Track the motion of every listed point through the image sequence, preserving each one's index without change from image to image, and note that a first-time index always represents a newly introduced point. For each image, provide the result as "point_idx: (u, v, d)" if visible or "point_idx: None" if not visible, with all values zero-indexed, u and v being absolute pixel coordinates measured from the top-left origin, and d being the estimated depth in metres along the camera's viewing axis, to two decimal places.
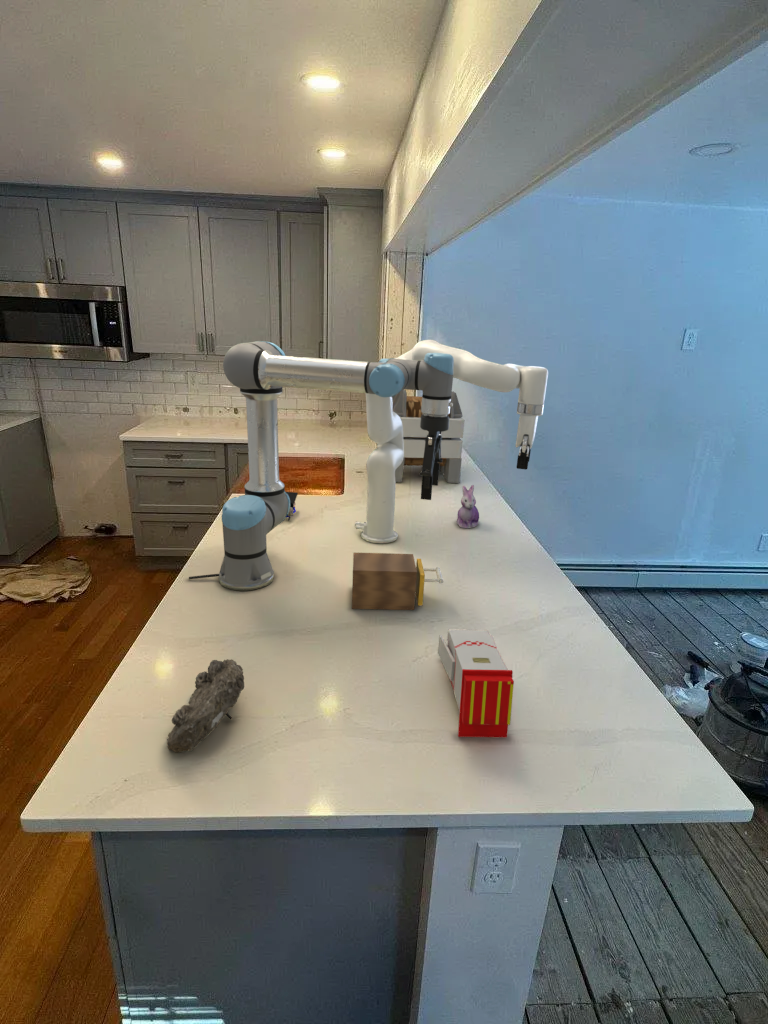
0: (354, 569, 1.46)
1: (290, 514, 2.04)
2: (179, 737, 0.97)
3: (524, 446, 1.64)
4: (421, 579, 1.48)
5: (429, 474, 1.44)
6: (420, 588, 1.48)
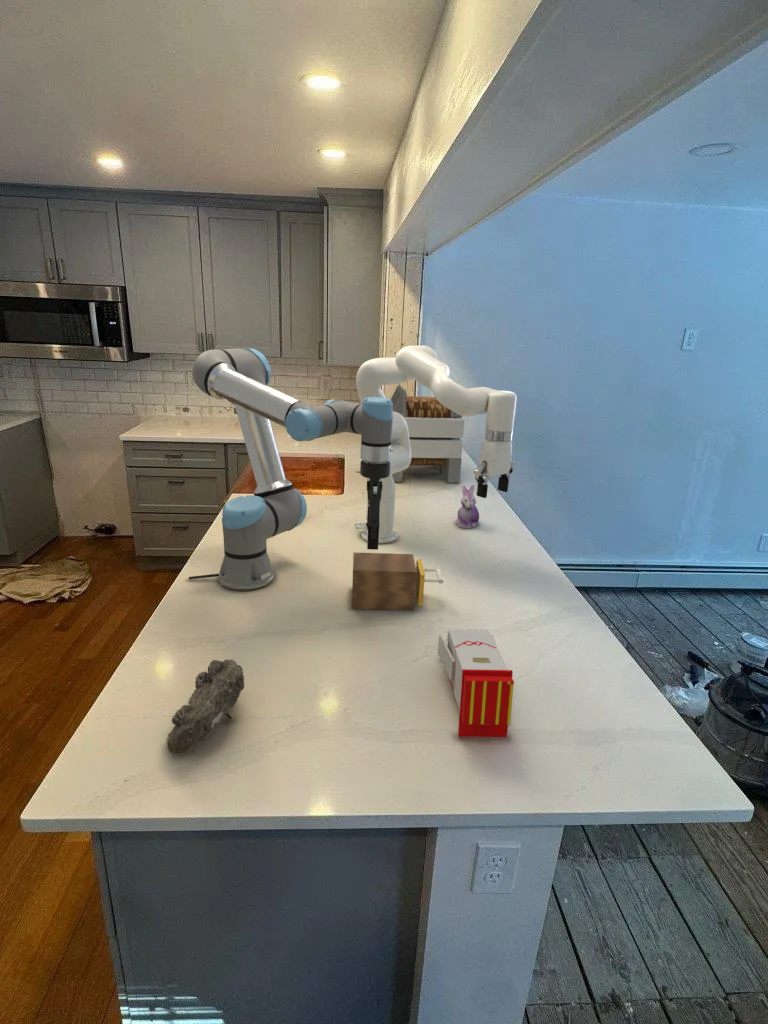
0: (354, 569, 1.46)
1: None
2: (179, 737, 0.97)
3: (476, 473, 1.57)
4: (421, 579, 1.48)
5: (377, 525, 1.37)
6: (420, 588, 1.48)
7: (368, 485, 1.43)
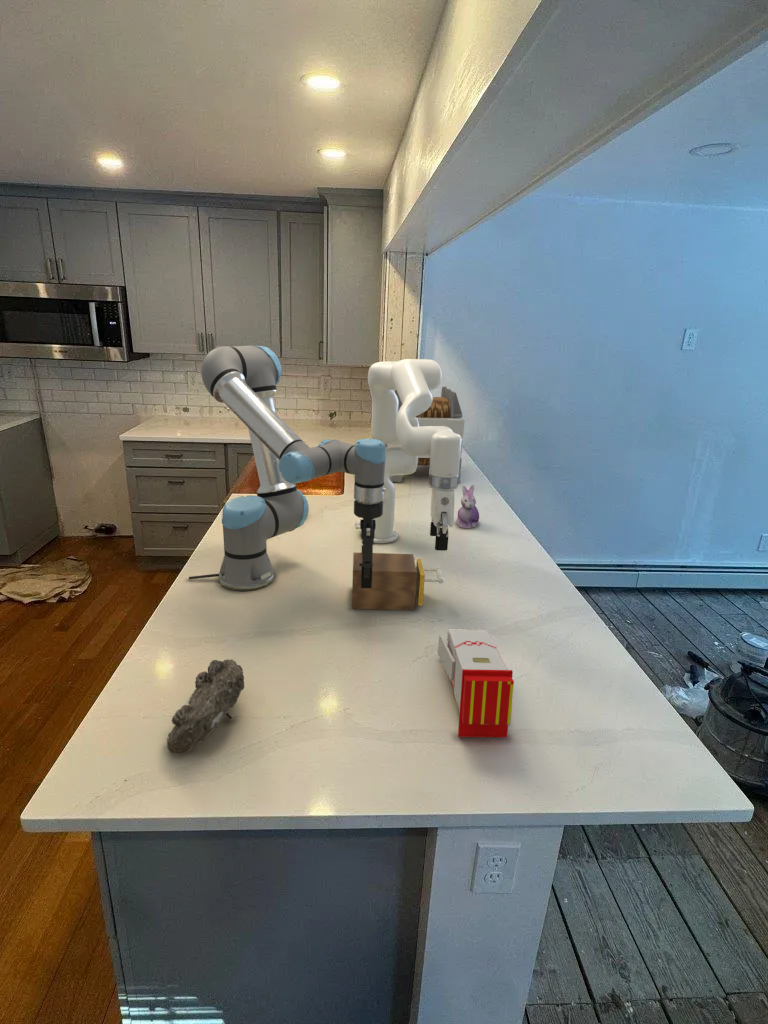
0: (354, 569, 1.46)
1: None
2: (179, 737, 0.97)
3: None
4: (421, 579, 1.47)
5: (370, 565, 1.41)
6: (420, 588, 1.48)
7: (361, 524, 1.45)
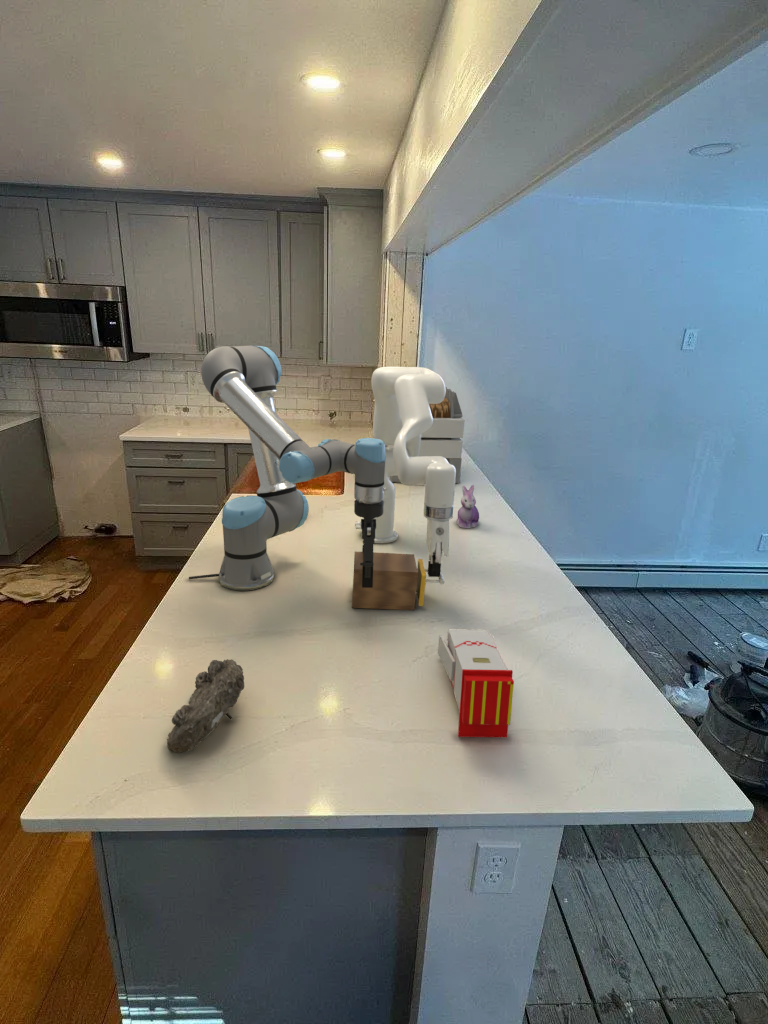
0: (355, 568, 1.46)
1: None
2: (179, 737, 0.97)
3: None
4: (422, 579, 1.48)
5: (371, 565, 1.41)
6: (421, 588, 1.48)
7: (362, 524, 1.45)
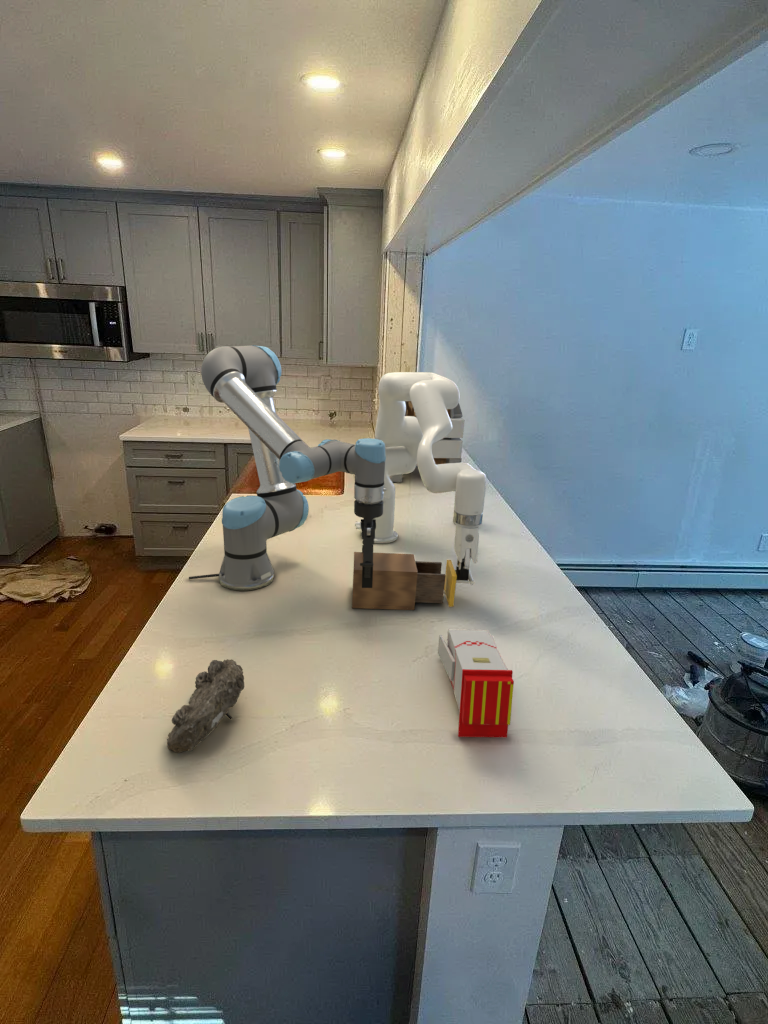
0: (355, 568, 1.46)
1: None
2: (179, 737, 0.97)
3: None
4: (453, 580, 1.48)
5: (371, 565, 1.41)
6: (452, 589, 1.49)
7: (362, 524, 1.45)
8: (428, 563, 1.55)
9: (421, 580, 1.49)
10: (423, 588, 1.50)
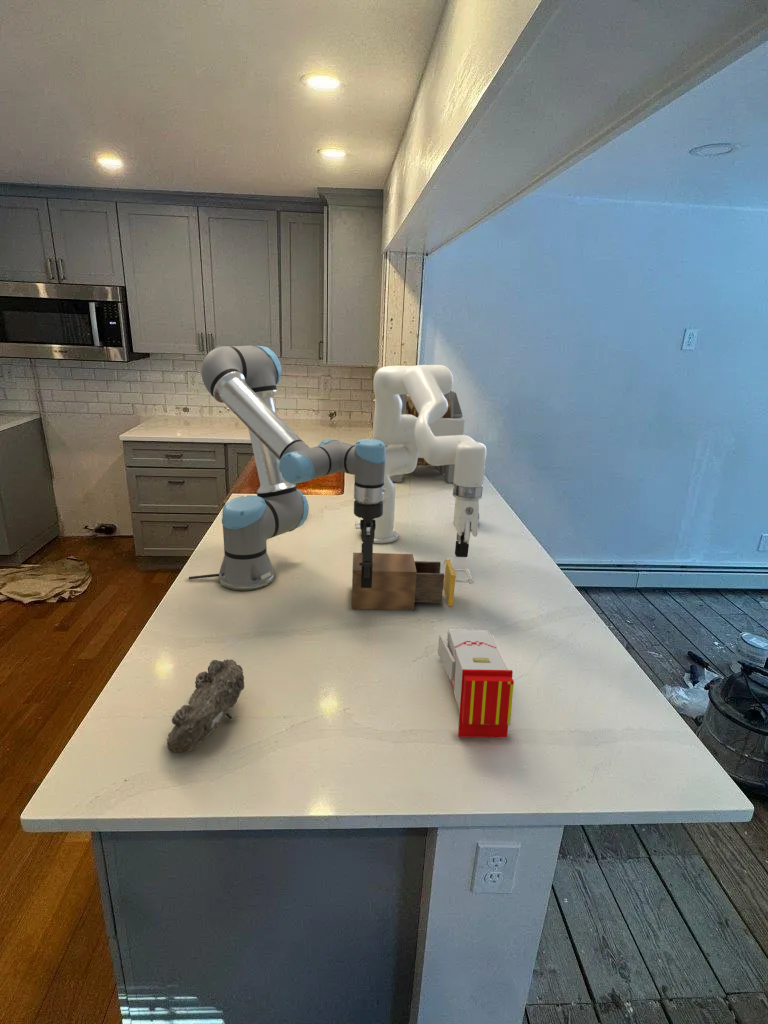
0: (354, 569, 1.46)
1: None
2: (179, 737, 0.97)
3: None
4: (452, 580, 1.48)
5: (370, 565, 1.40)
6: (451, 589, 1.49)
7: (361, 524, 1.45)
8: (427, 563, 1.55)
9: (420, 580, 1.49)
10: (422, 588, 1.50)
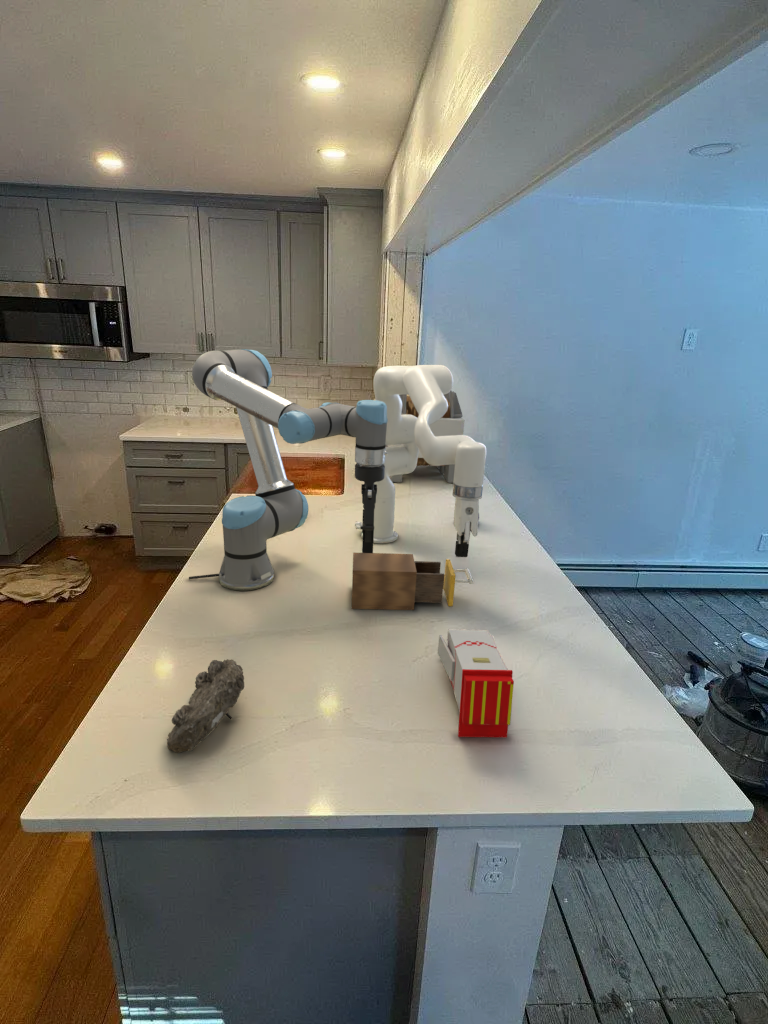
0: (354, 569, 1.46)
1: None
2: (179, 737, 0.97)
3: None
4: (452, 580, 1.48)
5: (372, 528, 1.37)
6: (451, 589, 1.49)
7: (363, 488, 1.42)
8: (427, 563, 1.55)
9: (420, 580, 1.49)
10: (423, 588, 1.50)
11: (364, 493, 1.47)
